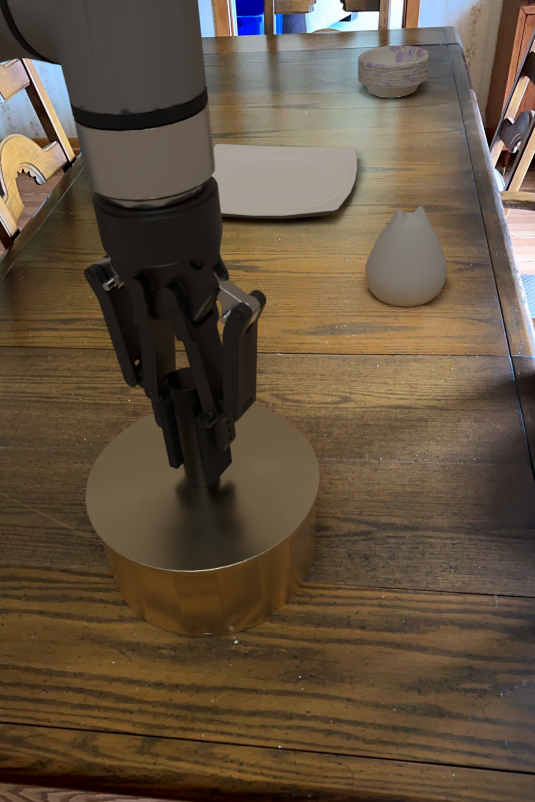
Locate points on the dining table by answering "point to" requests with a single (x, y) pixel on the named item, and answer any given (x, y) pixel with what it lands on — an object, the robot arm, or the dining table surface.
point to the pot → (218, 590)
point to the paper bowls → (393, 69)
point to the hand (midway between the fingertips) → (201, 463)
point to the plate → (283, 180)
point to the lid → (201, 491)
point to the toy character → (406, 261)
